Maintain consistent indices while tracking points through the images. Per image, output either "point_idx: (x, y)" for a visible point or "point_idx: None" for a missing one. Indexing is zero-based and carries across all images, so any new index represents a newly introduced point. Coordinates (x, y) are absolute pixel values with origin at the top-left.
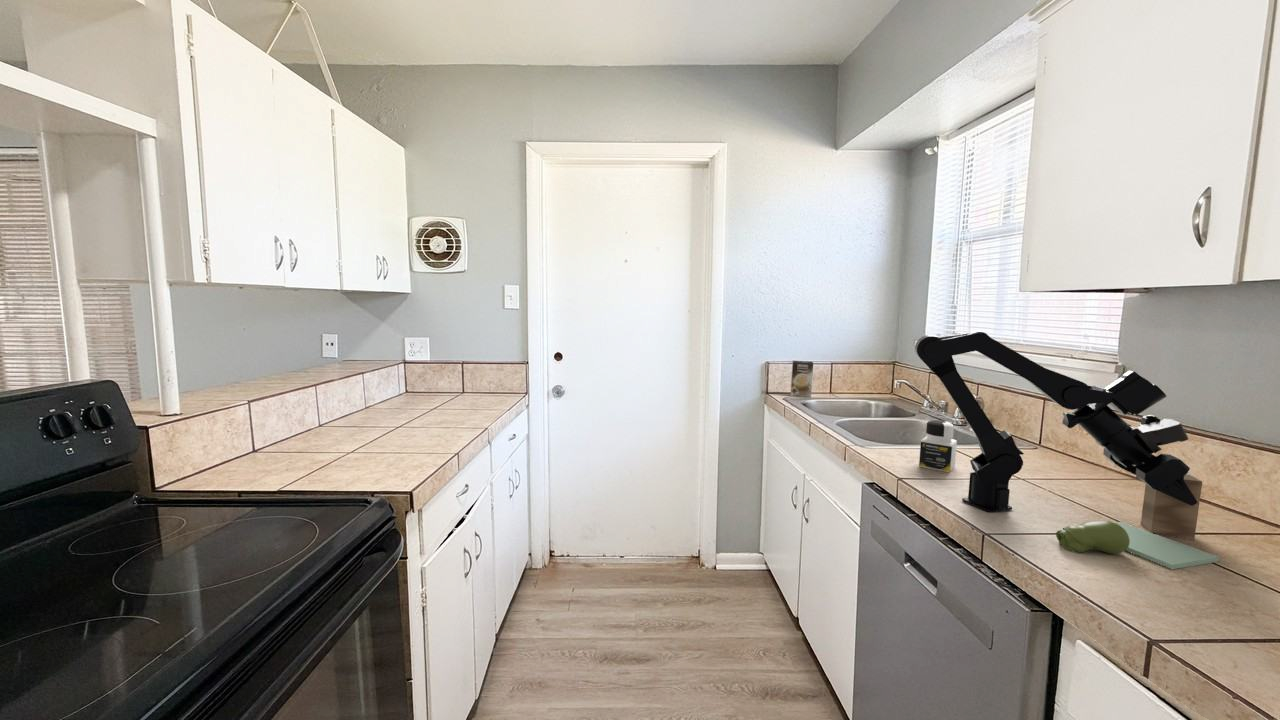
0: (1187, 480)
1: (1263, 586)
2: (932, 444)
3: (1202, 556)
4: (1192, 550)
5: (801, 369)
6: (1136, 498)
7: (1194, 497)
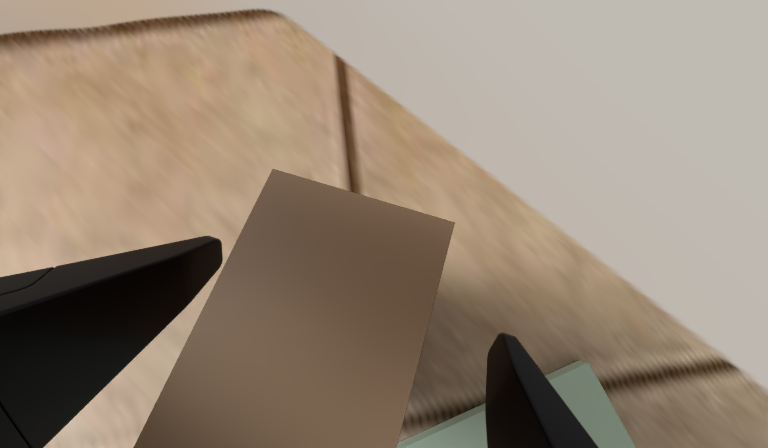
0: (425, 319)
1: (730, 374)
2: None
3: (606, 425)
4: None
5: None
6: (80, 182)
7: (542, 373)
